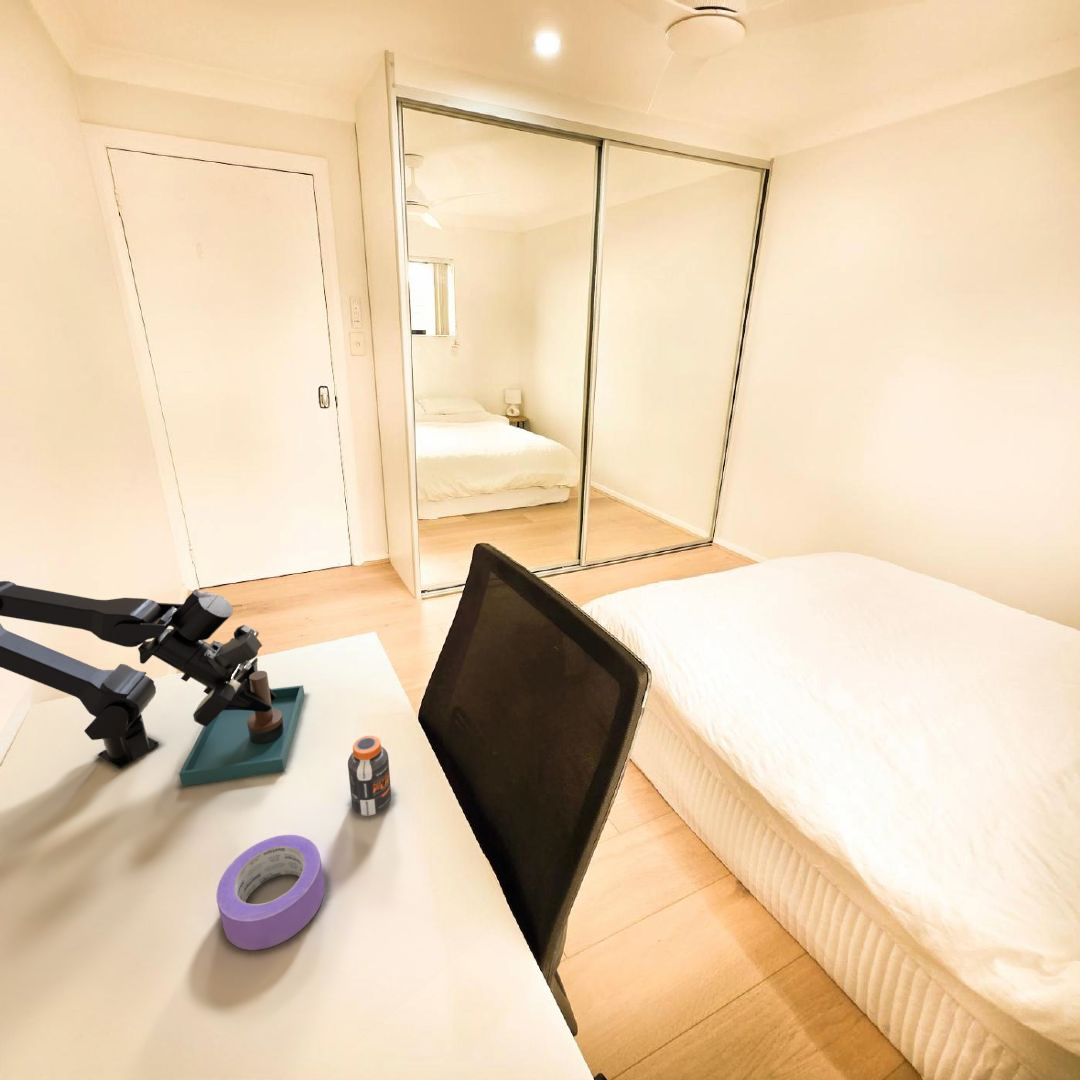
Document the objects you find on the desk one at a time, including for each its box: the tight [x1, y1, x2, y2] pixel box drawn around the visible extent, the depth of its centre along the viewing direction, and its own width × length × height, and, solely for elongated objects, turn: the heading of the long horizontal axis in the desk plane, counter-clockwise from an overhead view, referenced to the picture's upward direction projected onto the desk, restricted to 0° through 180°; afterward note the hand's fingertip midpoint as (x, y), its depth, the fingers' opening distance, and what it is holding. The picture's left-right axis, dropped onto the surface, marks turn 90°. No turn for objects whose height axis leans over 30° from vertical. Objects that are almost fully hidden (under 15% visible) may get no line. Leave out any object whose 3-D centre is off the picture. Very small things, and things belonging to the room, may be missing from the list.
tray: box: [178, 684, 306, 787], centre depth 96 cm, size 21×15×3 cm
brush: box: [247, 670, 284, 744], centre depth 94 cm, size 6×6×12 cm
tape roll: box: [216, 834, 326, 951], centre depth 67 cm, size 12×12×5 cm
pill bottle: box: [347, 735, 392, 817], centre depth 82 cm, size 6×6×11 cm
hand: (272, 704), depth 95 cm, fingers closed on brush, 3 cm apart
